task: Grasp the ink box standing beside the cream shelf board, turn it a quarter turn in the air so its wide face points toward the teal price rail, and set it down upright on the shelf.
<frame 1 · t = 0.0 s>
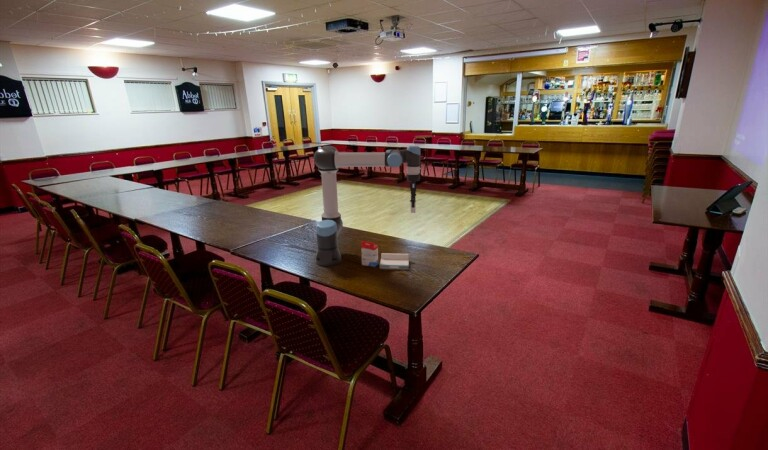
hand: (412, 209, 213), 28 cm above the table, fingers open, 13 cm apart
ink box: (370, 264, 207), on the table
shelf: (394, 264, 206), on the table
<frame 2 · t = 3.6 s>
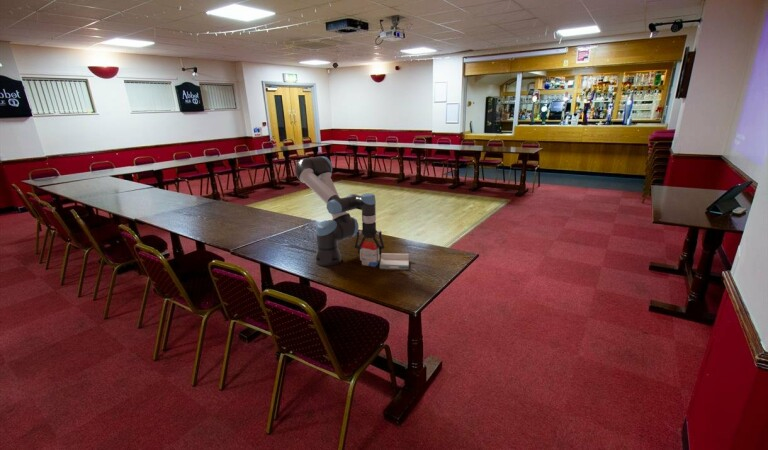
hand: (369, 259, 206), 3 cm above the table, fingers closed on ink box, 9 cm apart
ink box: (370, 264, 207), on the table, touching gripper
when the fingers open (6 cm above the table, at t = 9.4 s): ink box drops 1 cm, resting on shelf.
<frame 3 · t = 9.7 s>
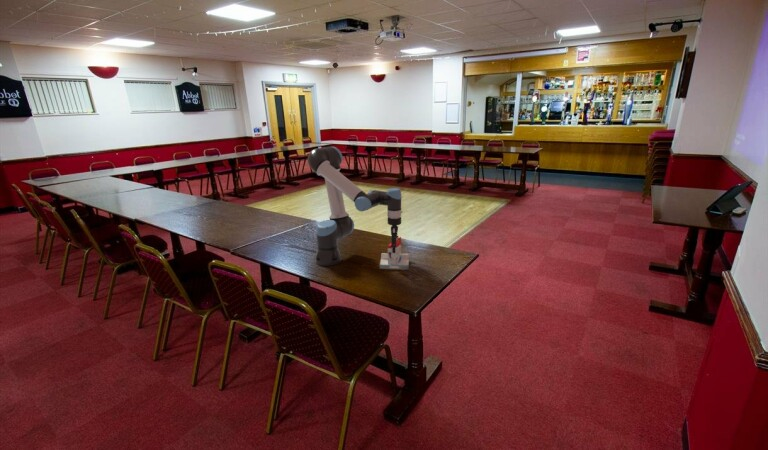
hand: (394, 253, 204), 7 cm above the table, fingers open, 13 cm apart
ink box: (394, 263, 205), point 1 cm above the table, touching shelf
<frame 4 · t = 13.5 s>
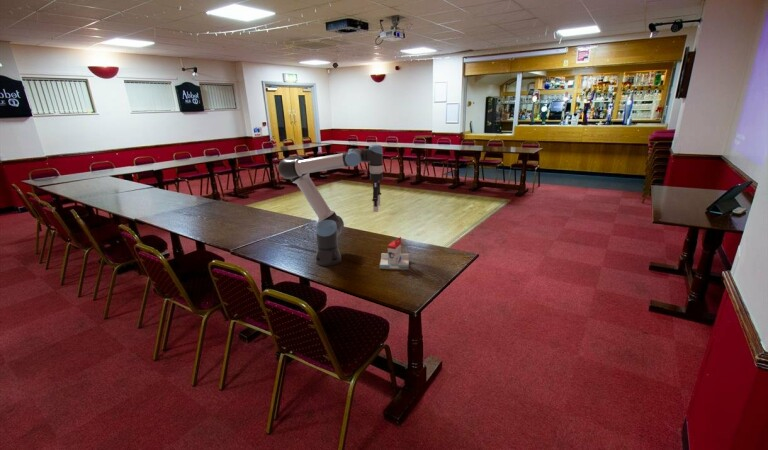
hand: (376, 208, 213), 29 cm above the table, fingers open, 13 cm apart
nothing on the table moved.
at the end: ink box inside the target area on the shelf (0.2 cm from its centre), point 1.3 cm above the shelf's base; ink box tilted 0°; ink box moved 14.1 cm from its start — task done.
